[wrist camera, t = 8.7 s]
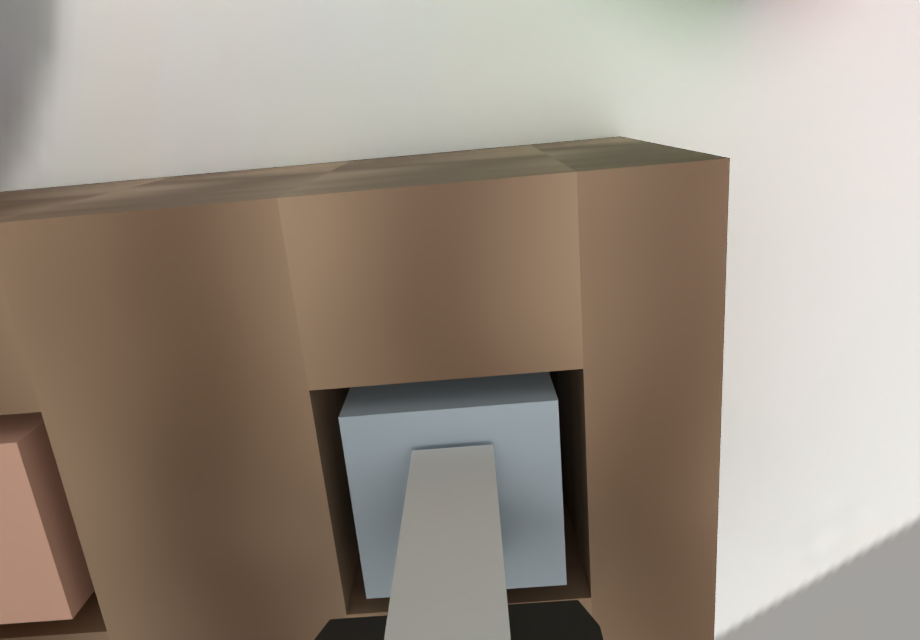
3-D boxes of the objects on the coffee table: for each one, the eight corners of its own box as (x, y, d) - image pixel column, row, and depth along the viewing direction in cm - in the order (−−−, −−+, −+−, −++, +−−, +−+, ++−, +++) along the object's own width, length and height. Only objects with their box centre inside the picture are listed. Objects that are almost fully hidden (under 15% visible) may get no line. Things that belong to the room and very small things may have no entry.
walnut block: (33, 555, 23) (-182, 779, 15) (-83, 199, 19) (-441, 260, 12) (625, 511, 22) (711, 722, 15) (620, 136, 19) (729, 158, 11)
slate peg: (399, 427, 21) (366, 598, 14) (383, 302, 19) (338, 417, 12) (530, 418, 21) (567, 585, 13) (522, 290, 19) (558, 399, 12)
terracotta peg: (79, 452, 21) (-120, 632, 14) (44, 330, 20) (-193, 458, 13) (206, 442, 21) (73, 619, 14) (178, 319, 20) (16, 442, 12)
